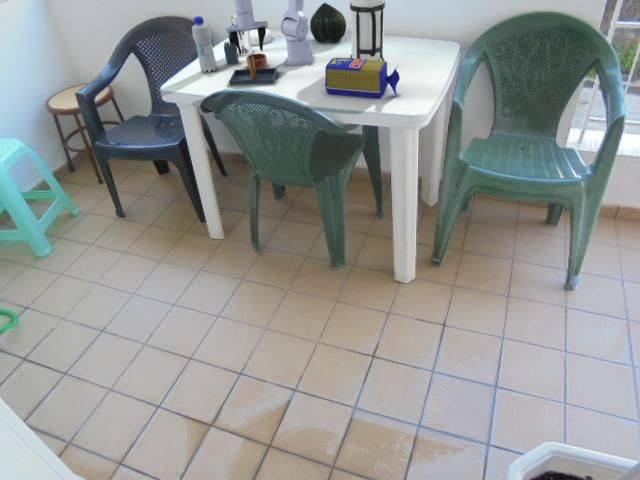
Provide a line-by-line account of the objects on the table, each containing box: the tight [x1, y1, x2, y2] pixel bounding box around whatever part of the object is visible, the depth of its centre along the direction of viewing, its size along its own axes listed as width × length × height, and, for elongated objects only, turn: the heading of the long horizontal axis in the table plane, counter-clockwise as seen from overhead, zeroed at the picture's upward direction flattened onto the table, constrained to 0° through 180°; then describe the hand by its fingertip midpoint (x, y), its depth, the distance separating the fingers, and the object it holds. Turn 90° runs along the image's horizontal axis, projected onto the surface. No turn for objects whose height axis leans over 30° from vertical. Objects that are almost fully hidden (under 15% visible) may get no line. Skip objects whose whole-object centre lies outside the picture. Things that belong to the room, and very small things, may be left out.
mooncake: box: [250, 28, 272, 46], centre depth 212 cm, size 12×12×4 cm
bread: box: [324, 57, 401, 99], centre depth 162 cm, size 10×25×10 cm, turn 70°
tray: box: [229, 67, 278, 86], centre depth 179 cm, size 16×10×2 cm, turn 86°
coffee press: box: [349, 0, 386, 61], centre depth 176 cm, size 17×16×30 cm
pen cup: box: [246, 52, 269, 69], centre depth 187 cm, size 8×8×4 cm
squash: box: [309, 2, 347, 43], centre depth 204 cm, size 14×15×15 cm
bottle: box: [191, 15, 218, 73], centre depth 183 cm, size 7×7×20 cm
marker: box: [248, 54, 257, 79], centre depth 177 cm, size 2×2×8 cm
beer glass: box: [230, 12, 253, 56], centre depth 197 cm, size 7×7×15 cm
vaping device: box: [223, 34, 240, 65], centre depth 189 cm, size 3×5×12 cm, turn 78°
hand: (250, 51), depth 174 cm, fingers open, 7 cm apart
